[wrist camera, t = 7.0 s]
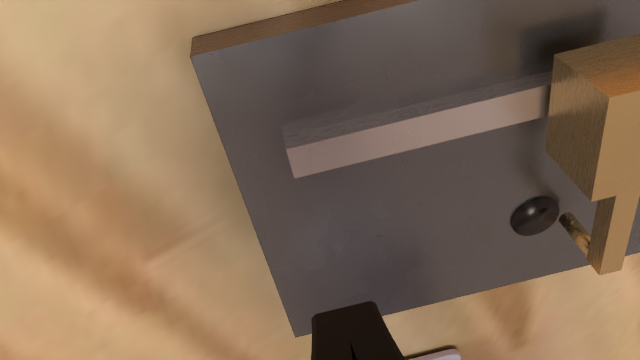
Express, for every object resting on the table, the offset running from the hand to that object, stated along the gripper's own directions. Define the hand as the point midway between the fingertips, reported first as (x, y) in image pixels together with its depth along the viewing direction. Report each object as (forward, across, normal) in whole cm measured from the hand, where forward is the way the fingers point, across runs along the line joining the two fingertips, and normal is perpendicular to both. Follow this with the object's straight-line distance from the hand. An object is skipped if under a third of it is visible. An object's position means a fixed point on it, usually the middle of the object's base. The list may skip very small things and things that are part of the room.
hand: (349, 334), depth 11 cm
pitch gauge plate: (+9, -10, +3) cm, 14 cm away
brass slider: (+7, -9, +2) cm, 12 cm away
